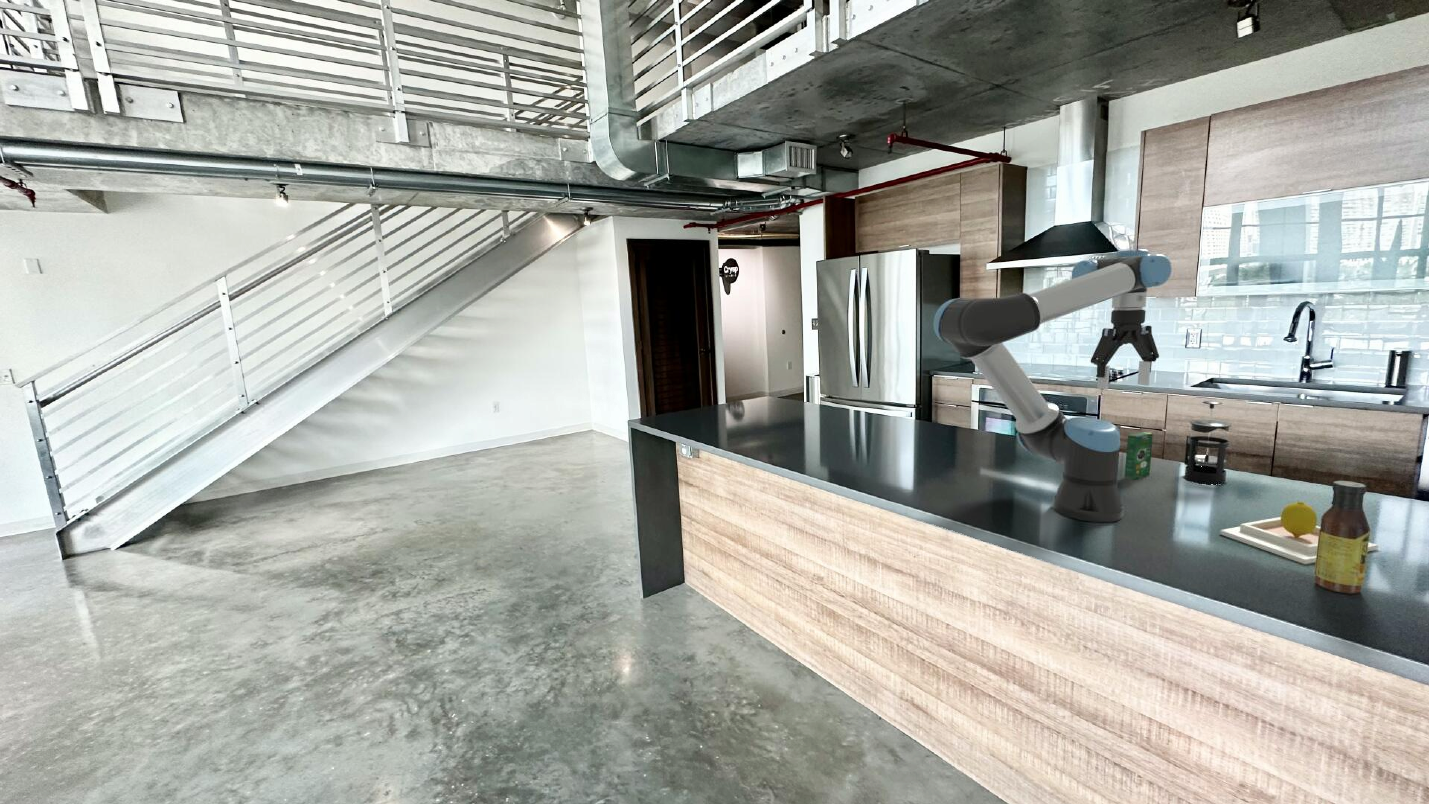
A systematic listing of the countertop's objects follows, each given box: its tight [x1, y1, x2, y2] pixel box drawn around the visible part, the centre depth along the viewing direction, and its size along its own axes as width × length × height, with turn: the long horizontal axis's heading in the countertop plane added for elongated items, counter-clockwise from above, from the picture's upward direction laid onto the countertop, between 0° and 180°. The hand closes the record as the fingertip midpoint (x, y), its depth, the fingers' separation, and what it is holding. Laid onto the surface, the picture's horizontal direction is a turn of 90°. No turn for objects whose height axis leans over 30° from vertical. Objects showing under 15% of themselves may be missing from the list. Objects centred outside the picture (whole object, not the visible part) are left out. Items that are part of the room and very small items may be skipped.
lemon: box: [1280, 501, 1318, 537], centre depth 126 cm, size 6×6×8 cm
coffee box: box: [1123, 431, 1154, 480], centre depth 172 cm, size 8×3×13 cm, turn 114°
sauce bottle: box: [1314, 480, 1371, 595], centre depth 106 cm, size 6×6×20 cm
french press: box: [1183, 400, 1232, 486], centre depth 165 cm, size 12×9×23 cm
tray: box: [1219, 516, 1379, 565], centre depth 126 cm, size 20×16×2 cm
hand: (1123, 387), depth 160 cm, fingers open, 13 cm apart
